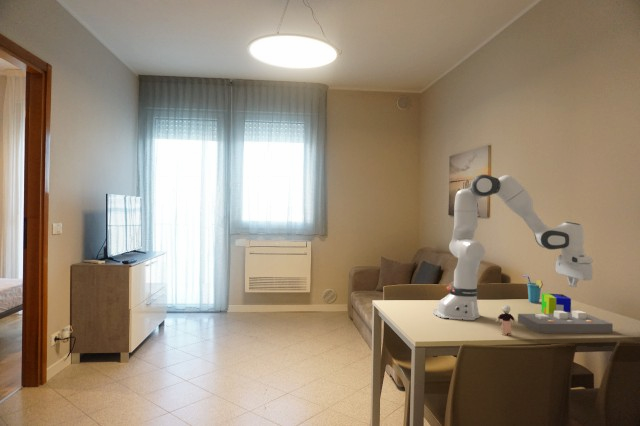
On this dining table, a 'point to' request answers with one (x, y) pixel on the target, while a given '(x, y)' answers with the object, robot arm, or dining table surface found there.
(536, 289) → the cup
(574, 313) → the button
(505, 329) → the grandmother figurine
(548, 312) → the puzzle toy
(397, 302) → the dining table surface
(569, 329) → the button board
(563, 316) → the button middle
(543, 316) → the button
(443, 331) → the dining table surface
